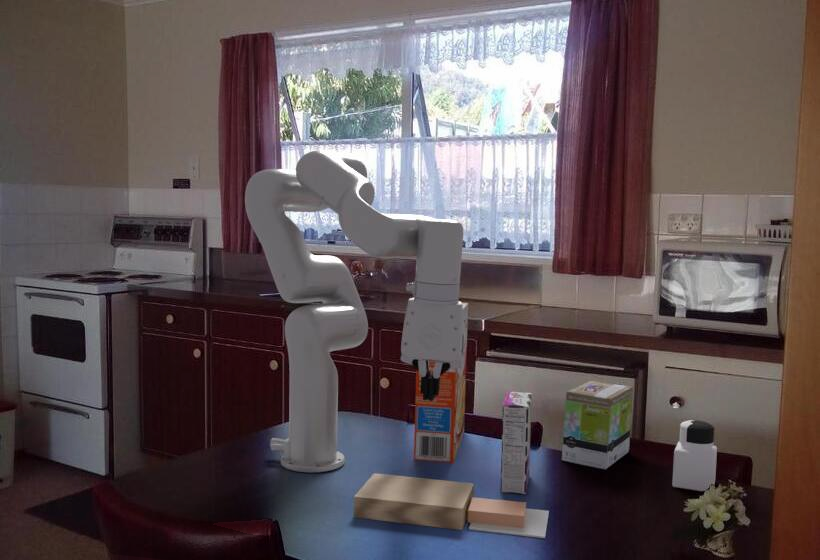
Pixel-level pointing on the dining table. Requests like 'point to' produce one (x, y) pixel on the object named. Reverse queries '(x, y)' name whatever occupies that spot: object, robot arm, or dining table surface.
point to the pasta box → (442, 412)
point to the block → (497, 512)
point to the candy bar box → (516, 442)
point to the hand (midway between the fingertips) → (429, 398)
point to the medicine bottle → (695, 456)
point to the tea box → (597, 424)
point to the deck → (414, 501)
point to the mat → (532, 528)
